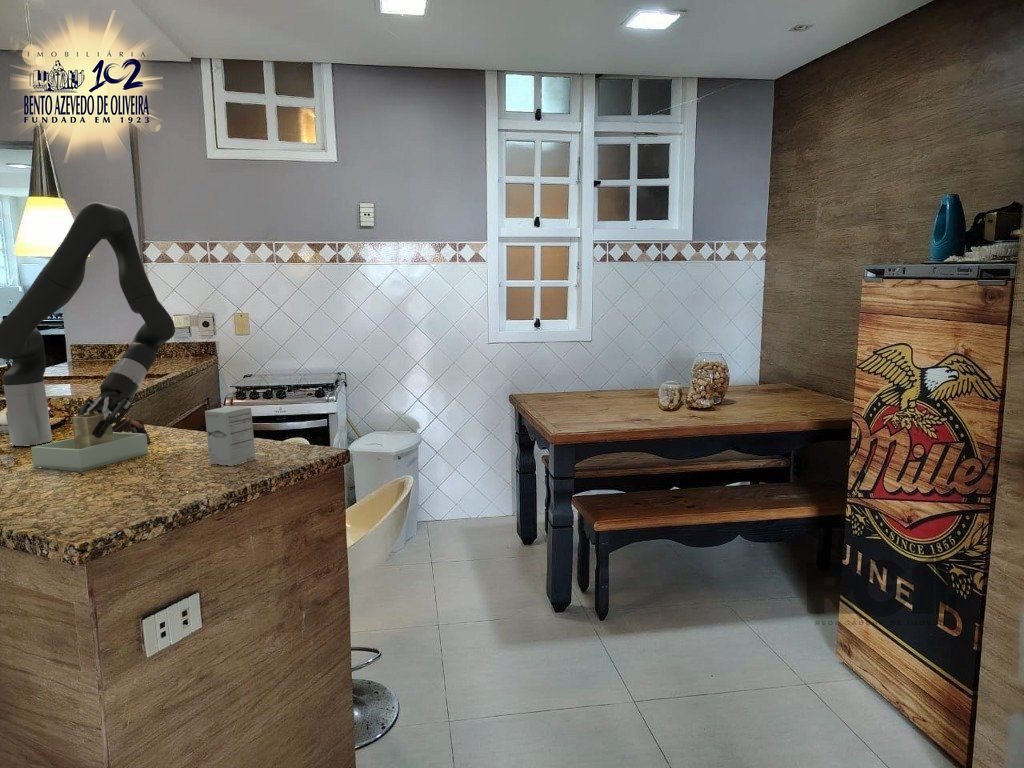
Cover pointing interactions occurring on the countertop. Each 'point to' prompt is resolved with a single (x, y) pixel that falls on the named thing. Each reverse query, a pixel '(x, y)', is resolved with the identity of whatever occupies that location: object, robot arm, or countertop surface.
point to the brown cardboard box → (89, 431)
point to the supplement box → (230, 435)
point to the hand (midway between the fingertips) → (87, 435)
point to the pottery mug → (131, 427)
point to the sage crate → (89, 452)
